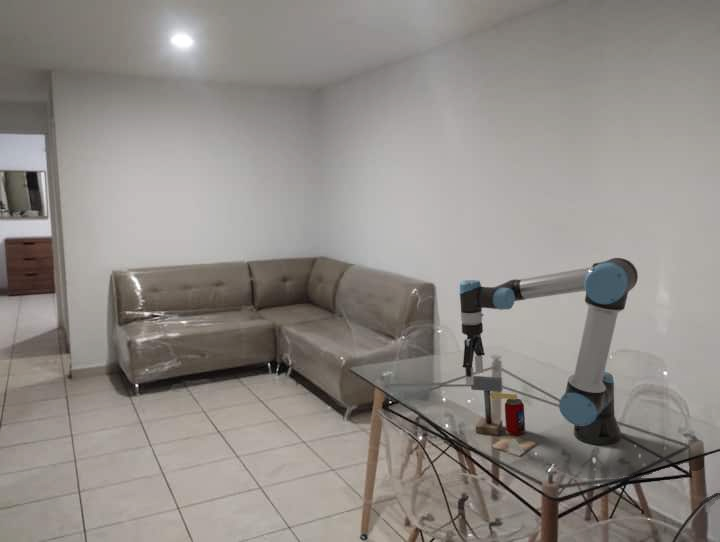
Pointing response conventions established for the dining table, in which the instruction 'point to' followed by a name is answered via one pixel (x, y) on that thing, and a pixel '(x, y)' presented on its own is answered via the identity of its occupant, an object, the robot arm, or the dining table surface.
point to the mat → (503, 443)
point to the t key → (487, 386)
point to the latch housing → (489, 426)
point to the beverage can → (514, 416)
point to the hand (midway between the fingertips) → (474, 378)
